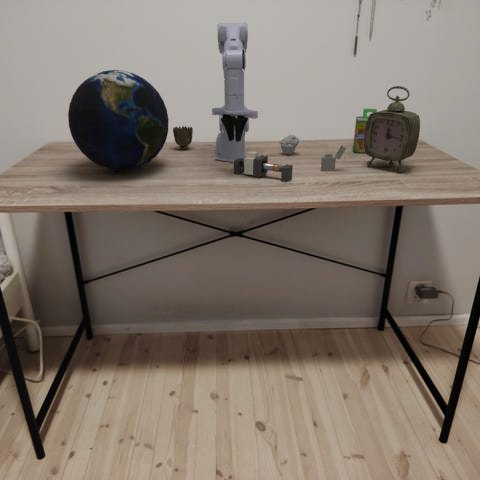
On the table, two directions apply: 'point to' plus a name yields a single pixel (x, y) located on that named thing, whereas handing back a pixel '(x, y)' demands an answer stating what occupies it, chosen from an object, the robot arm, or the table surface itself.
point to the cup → (183, 136)
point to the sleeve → (250, 162)
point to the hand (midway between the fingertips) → (234, 140)
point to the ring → (260, 165)
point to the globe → (118, 120)
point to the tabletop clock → (392, 132)
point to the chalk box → (361, 131)
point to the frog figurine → (289, 144)
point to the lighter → (331, 160)
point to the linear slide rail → (285, 170)
